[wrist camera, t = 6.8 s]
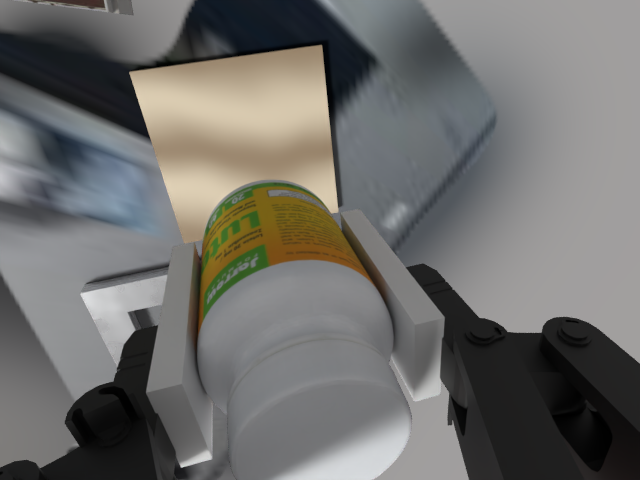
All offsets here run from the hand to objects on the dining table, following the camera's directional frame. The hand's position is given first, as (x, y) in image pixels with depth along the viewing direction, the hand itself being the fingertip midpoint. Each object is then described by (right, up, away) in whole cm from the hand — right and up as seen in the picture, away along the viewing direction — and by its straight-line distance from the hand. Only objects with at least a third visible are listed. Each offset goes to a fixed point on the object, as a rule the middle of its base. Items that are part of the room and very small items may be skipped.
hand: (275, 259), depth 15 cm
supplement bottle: (0, +1, +2) cm, 2 cm away
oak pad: (-3, +7, +13) cm, 16 cm away
